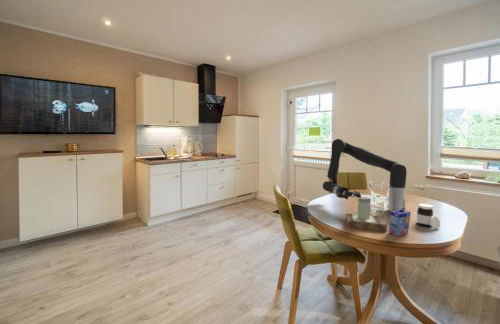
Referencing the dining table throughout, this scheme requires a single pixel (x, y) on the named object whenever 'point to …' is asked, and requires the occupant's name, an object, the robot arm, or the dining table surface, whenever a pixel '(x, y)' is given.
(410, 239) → the dining table surface
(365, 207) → the block
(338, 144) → the robot arm
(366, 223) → the dock
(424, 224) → the spread jar
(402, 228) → the ink cartridge box
